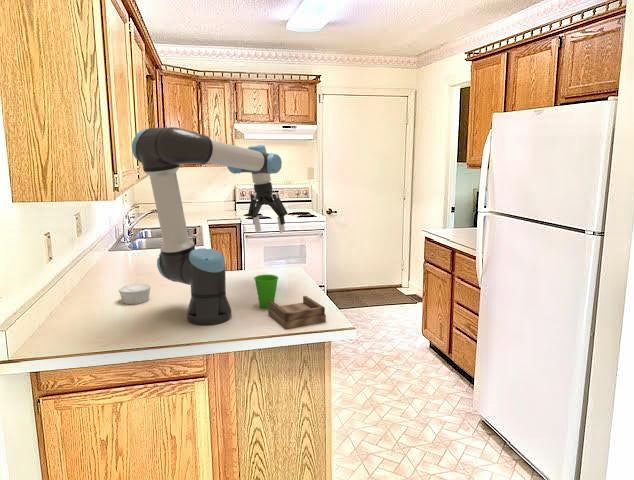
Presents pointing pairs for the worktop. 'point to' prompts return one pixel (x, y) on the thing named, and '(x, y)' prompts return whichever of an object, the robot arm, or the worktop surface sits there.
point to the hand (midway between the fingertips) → (270, 232)
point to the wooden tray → (297, 313)
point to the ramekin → (135, 293)
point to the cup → (266, 289)
